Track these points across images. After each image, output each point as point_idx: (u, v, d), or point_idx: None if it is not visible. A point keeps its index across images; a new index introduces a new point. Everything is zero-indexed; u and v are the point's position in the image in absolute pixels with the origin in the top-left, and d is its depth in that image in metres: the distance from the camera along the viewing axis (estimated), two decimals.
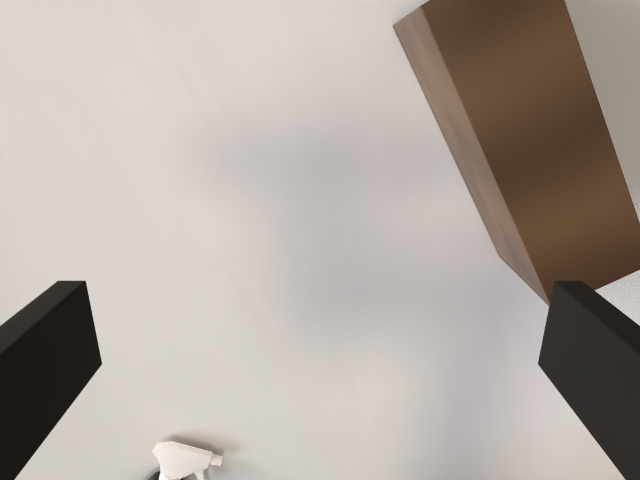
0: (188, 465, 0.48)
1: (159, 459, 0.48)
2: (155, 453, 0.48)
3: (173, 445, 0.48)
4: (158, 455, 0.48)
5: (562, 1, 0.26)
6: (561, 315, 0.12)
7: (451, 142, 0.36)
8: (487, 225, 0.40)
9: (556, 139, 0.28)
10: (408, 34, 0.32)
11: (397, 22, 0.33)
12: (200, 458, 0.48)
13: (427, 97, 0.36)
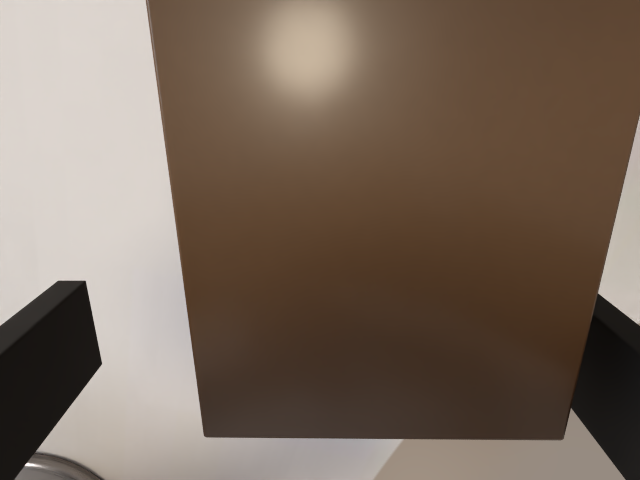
0: None
1: None
2: None
3: None
4: None
5: None
6: None
7: None
8: None
9: None
10: None
11: None
12: None
13: None
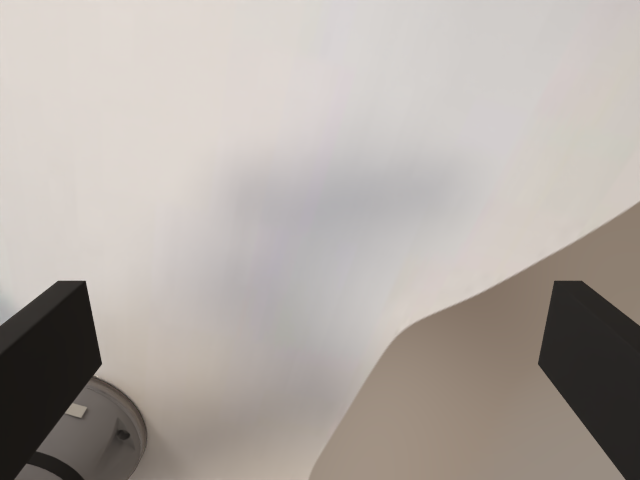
0: None
1: None
2: None
3: None
4: None
5: None
6: (561, 315, 0.12)
7: None
8: None
9: None
10: None
11: None
12: None
13: None
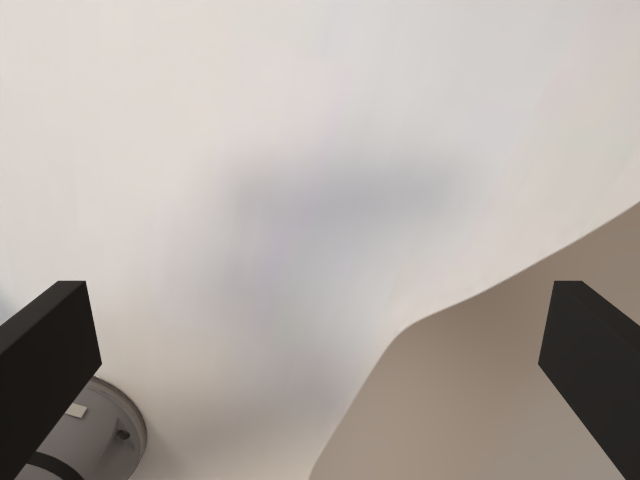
0: None
1: None
2: None
3: None
4: None
5: None
6: (561, 315, 0.12)
7: None
8: None
9: None
10: None
11: None
12: None
13: None
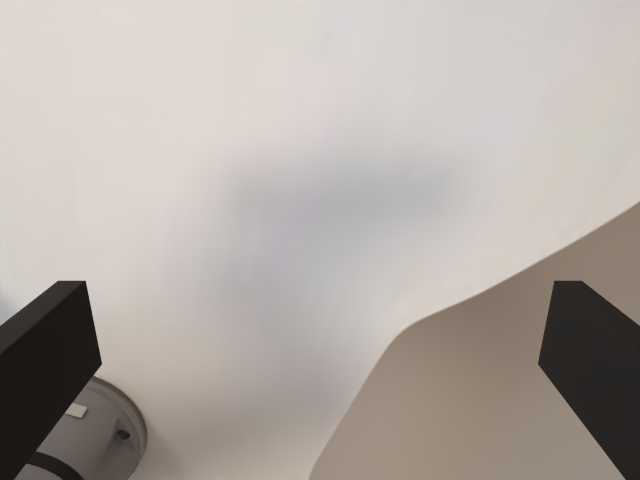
0: None
1: None
2: None
3: None
4: None
5: None
6: (561, 315, 0.12)
7: None
8: None
9: None
10: None
11: None
12: None
13: None
